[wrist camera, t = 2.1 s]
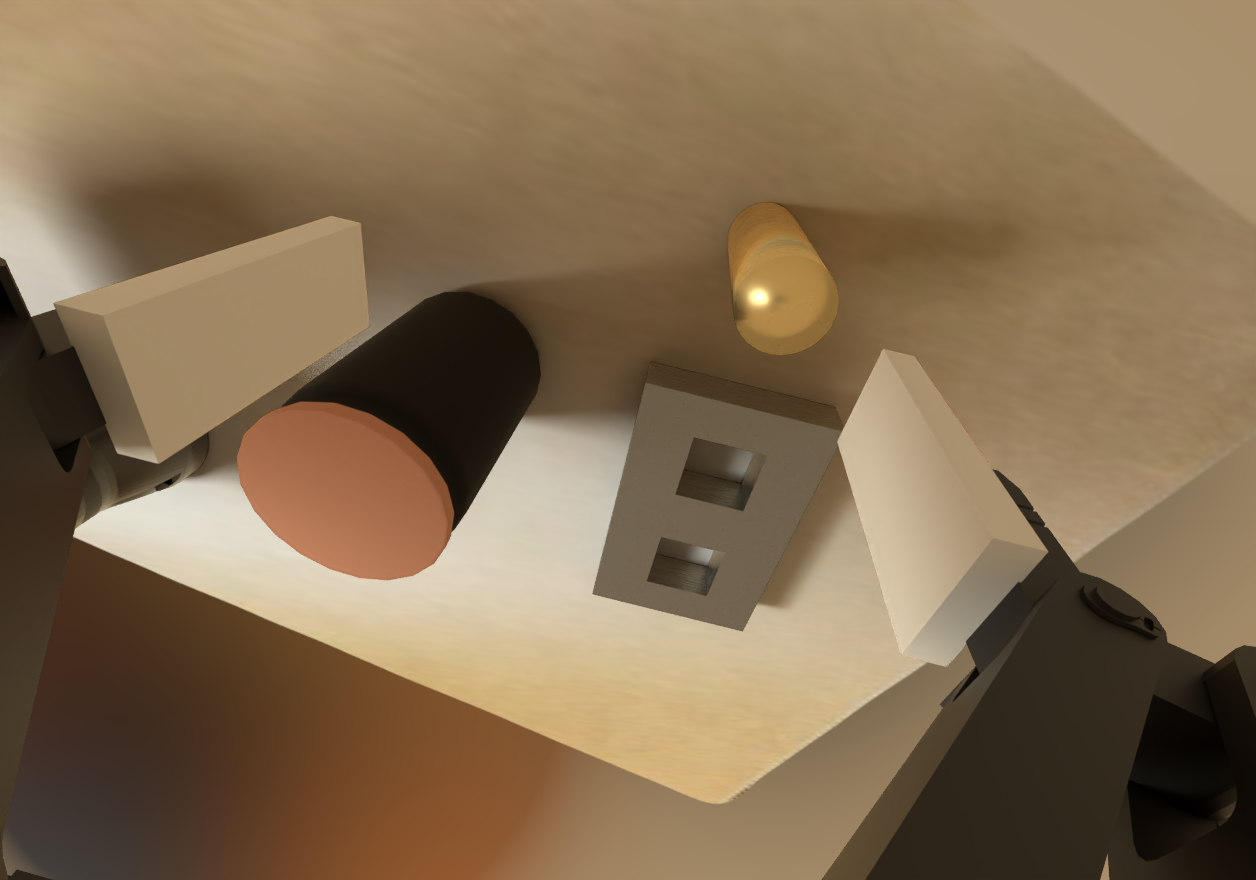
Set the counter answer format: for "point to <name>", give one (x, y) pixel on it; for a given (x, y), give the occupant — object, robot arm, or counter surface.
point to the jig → (711, 494)
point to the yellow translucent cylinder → (778, 282)
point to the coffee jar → (393, 438)
